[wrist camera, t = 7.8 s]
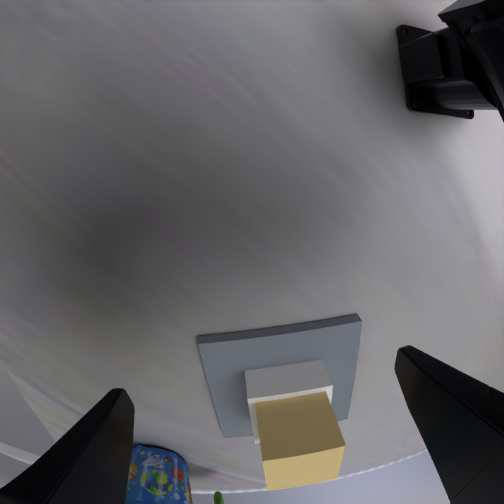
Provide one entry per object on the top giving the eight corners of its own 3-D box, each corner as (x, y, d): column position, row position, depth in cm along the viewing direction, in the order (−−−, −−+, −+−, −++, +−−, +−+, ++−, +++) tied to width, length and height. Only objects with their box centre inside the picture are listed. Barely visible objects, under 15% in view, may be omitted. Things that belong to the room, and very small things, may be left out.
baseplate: (357, 313, 22) (361, 320, 21) (344, 411, 26) (347, 418, 25) (198, 335, 22) (197, 344, 21) (223, 430, 26) (223, 438, 25)
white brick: (322, 358, 22) (333, 385, 19) (319, 406, 24) (327, 431, 22) (244, 370, 22) (247, 398, 19) (252, 417, 24) (255, 443, 21)
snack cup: (91, 456, 28) (74, 519, 18) (92, 415, 25) (66, 494, 15) (206, 487, 31) (207, 550, 21) (234, 454, 28) (239, 533, 18)
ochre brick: (325, 391, 20) (345, 445, 15) (321, 429, 21) (336, 478, 17) (255, 402, 19) (262, 461, 15) (260, 439, 21) (267, 490, 16)
